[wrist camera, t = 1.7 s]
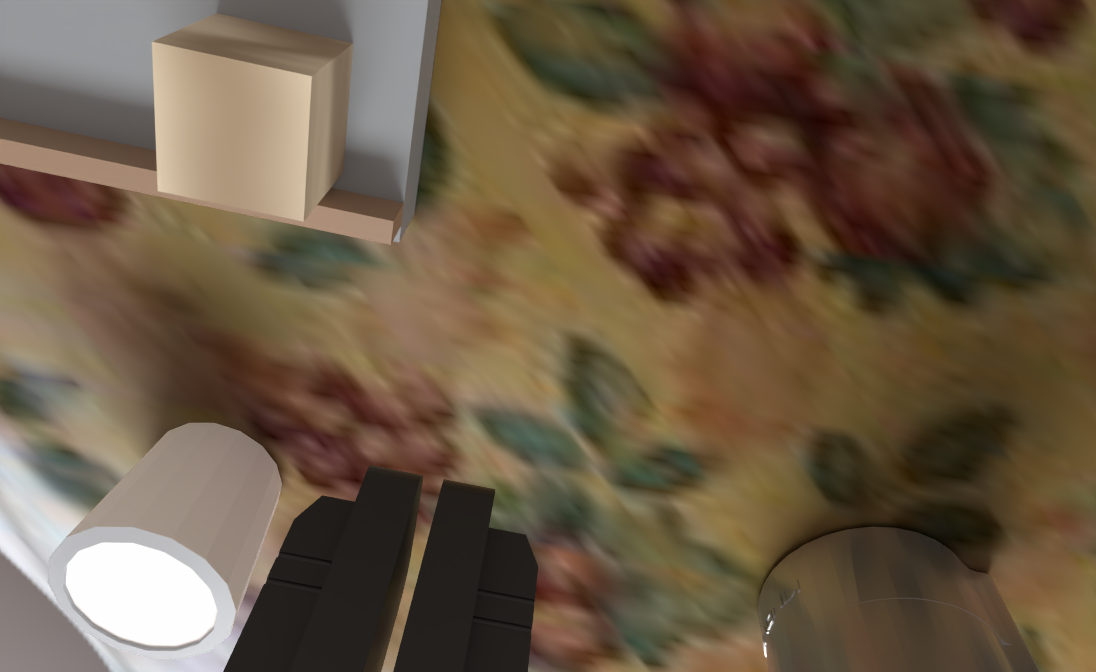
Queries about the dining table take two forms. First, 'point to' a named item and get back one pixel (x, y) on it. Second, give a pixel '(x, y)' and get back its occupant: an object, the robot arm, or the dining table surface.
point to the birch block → (250, 114)
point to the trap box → (128, 95)
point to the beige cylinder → (171, 545)
